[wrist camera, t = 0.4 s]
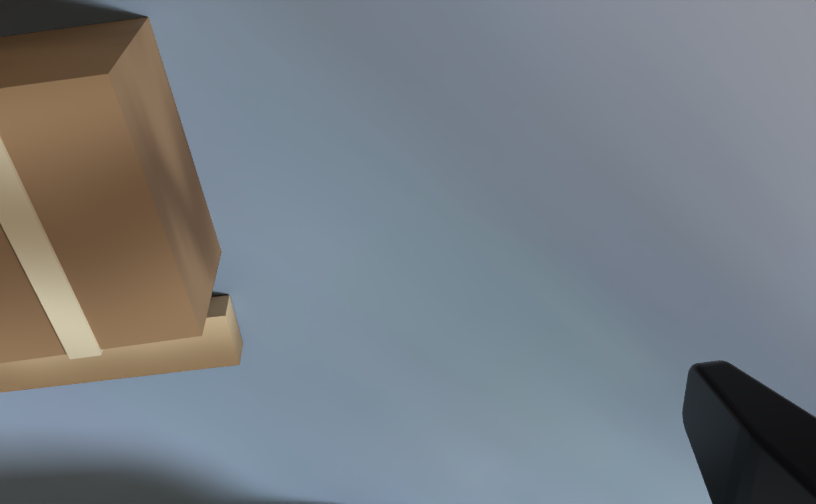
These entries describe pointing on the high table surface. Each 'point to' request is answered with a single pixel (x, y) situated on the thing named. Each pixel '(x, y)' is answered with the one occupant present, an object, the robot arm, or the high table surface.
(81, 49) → the crate
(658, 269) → the high table surface
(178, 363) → the light brown long piece
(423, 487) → the high table surface
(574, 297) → the high table surface
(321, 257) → the high table surface
